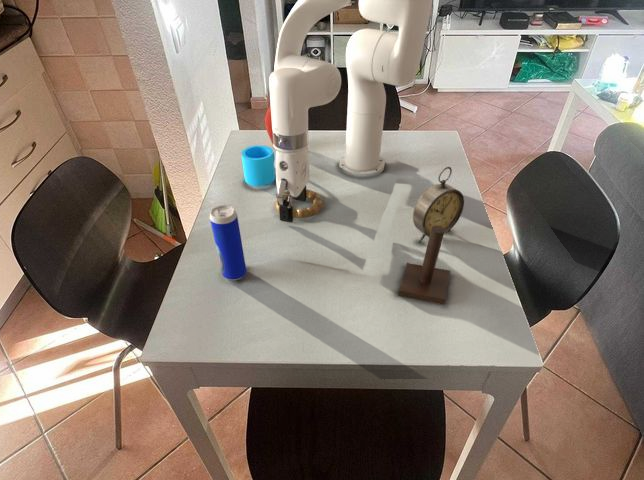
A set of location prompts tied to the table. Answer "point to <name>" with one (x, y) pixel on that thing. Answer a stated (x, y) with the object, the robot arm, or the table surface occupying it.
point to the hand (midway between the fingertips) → (293, 210)
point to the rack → (427, 274)
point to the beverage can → (228, 241)
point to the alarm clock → (438, 207)
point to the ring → (309, 211)
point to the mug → (258, 165)
